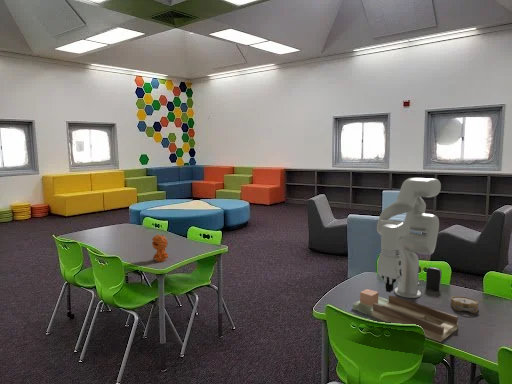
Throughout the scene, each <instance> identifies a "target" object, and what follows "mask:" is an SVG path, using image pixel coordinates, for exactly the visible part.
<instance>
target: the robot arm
mask: <svg viewBox="0 0 512 384" xmlns="http://www.w3.org/2000/svg"><path fill="white" fill-rule="evenodd" d="M441 188H442V184H441V182H440V180H439V179H437V178H425V177H409V178H407V179H405V180H404V181H403V182H402V185H401V187H400V190H399V192H398V196H397V198H396V200H395V201H394V202H393V203H390V204H389V205H388V206H387V207H385V208H384V209H383V210H382V211H381V213H380V215H379V217H378V220H377V224H376V232H377V233H378V234H379V235H380V253H379V256H378V259H377V261H378V262H377V273H378V274H377V275H378V276H379V277H380V278H382V280H383V281H384V283H385V292H387V293H391V292H393V290H394V293H395V295H397V296H399V297H402V298H407V299H416V298H420V297H421V296H422V293H421V291H420V290H419V287H420V286H421V283H420V282H419V275H420V273H419V272H420V271H419V269H420V259H419V257H418V255H417V254H422V255H432V254H434V252H435V249H436V246H437V241H438V240H437V239H438V237H439V235H438V234H439V229H440V220H439V219H440V218H439V217H438V216H437V215H435V214H432V213H426V209H427V208H426V207H427V203H426V202H425V201H424V199H423V198H434V197H436V196H438V195H439V194H440V192H441V190H442V189H441ZM402 214H405V218H404V221H401V220H393V219H392V217H395V216H397V215H398V216H399V215H402ZM411 231H412V232H411ZM423 233H425V234H423ZM394 283H397V287H395V288H394V285H395V284H394Z"/></svg>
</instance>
